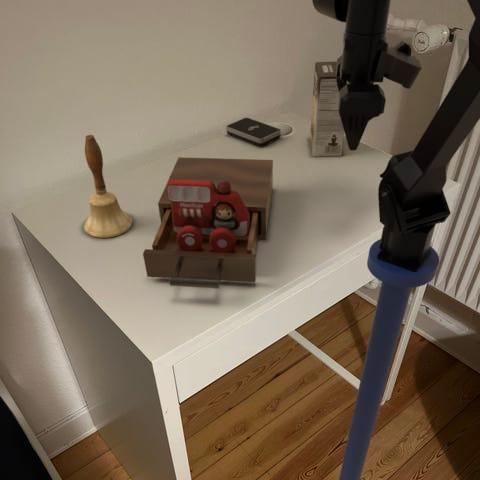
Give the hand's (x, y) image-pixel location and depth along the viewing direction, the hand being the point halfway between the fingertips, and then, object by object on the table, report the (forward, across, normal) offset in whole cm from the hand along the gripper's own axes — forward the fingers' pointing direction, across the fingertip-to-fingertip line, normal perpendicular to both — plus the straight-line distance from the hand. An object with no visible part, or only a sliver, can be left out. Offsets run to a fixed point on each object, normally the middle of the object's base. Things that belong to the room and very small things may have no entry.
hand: (351, 137), depth 82 cm
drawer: (+12, -18, +22) cm, 31 cm away
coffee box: (+13, +25, +3) cm, 28 cm away
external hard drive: (+13, +29, +19) cm, 37 cm away
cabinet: (+13, -3, +22) cm, 26 cm away
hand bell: (+13, -9, +41) cm, 44 cm away
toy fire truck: (+11, -15, +22) cm, 29 cm away
